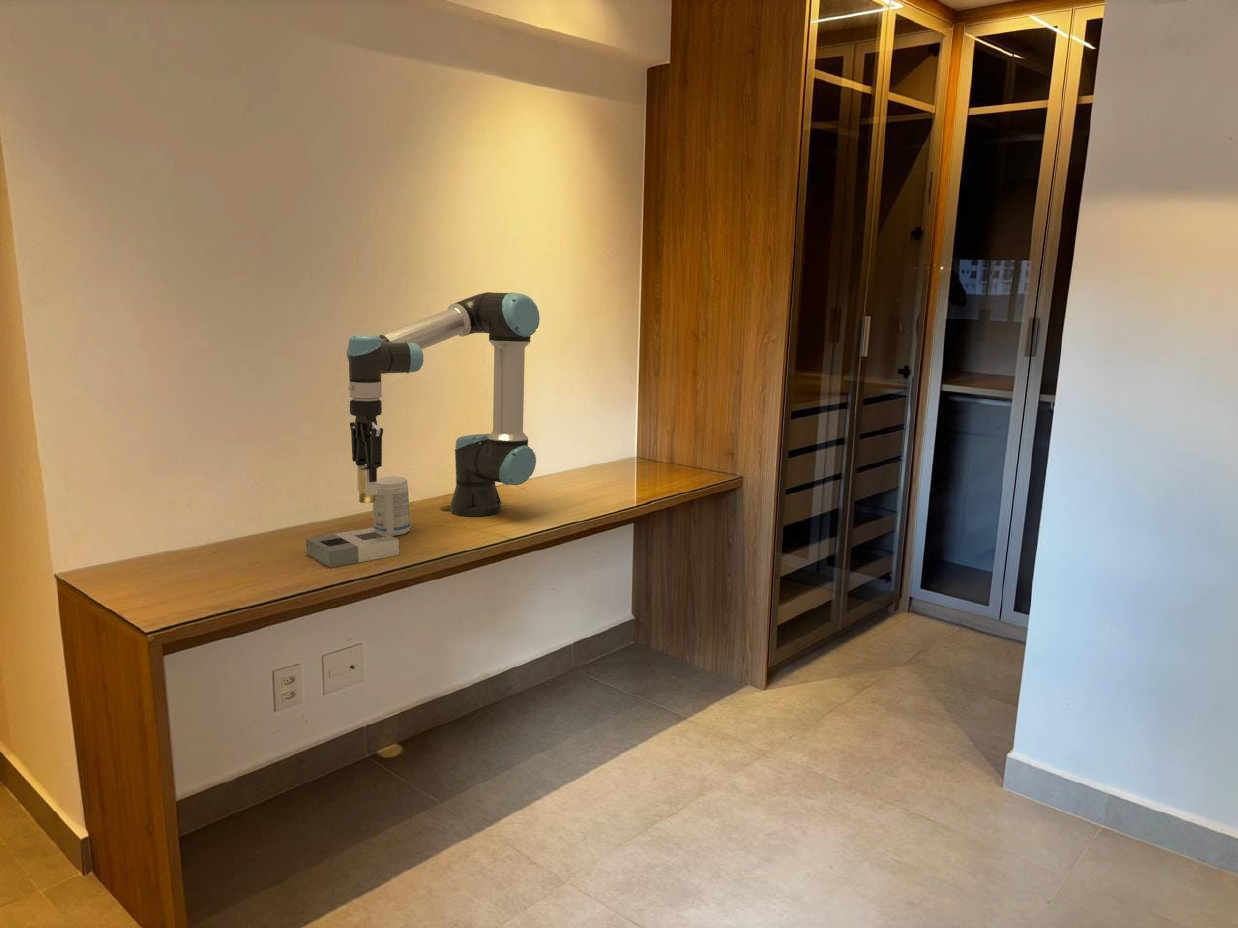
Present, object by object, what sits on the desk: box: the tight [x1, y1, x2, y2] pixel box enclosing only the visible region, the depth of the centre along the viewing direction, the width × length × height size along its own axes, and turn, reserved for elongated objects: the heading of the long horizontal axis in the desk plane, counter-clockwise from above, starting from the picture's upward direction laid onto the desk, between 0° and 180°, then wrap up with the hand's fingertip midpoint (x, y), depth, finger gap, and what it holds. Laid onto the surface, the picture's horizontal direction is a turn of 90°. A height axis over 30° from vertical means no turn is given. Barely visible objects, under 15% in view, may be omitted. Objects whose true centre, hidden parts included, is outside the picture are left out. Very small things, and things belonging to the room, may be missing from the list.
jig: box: [305, 526, 400, 569], centre depth 223 cm, size 18×14×4 cm
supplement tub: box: [372, 476, 411, 537], centre depth 243 cm, size 10×10×15 cm
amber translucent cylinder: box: [358, 469, 376, 504], centre depth 222 cm, size 4×4×8 cm
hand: (367, 492), depth 222 cm, fingers closed on amber translucent cylinder, 4 cm apart
